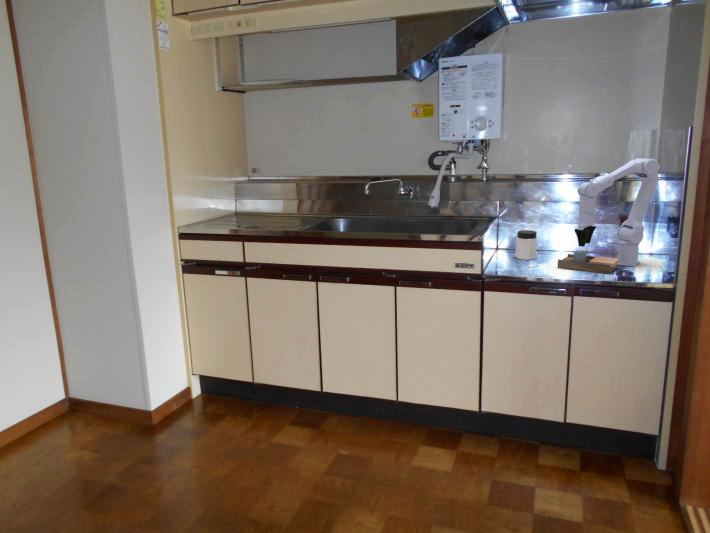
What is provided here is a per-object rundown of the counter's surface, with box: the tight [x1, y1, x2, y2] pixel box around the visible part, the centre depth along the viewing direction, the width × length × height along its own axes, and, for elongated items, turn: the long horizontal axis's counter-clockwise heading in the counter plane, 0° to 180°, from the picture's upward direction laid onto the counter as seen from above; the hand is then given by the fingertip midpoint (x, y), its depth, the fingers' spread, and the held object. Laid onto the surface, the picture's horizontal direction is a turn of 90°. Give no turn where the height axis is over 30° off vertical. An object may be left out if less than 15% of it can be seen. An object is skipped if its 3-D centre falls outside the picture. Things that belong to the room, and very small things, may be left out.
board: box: [557, 253, 619, 275], centre depth 228 cm, size 14×20×4 cm
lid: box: [589, 255, 620, 267], centre depth 224 cm, size 11×9×2 cm
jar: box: [515, 229, 538, 261], centre depth 248 cm, size 9×8×12 cm
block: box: [573, 249, 588, 262], centre depth 230 cm, size 4×4×6 cm
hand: (584, 244), depth 228 cm, fingers open, 7 cm apart
